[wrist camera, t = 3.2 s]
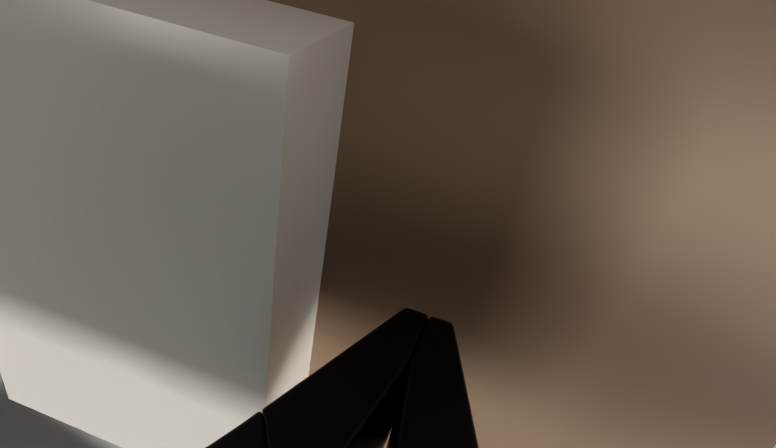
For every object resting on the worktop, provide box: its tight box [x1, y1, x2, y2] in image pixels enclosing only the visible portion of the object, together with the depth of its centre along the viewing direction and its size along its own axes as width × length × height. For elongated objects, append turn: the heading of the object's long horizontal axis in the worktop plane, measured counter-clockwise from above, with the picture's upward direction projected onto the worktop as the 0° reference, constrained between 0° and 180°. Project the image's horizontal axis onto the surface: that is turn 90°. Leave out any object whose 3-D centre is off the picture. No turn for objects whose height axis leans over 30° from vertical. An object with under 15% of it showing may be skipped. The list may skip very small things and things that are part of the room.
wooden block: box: [268, 0, 776, 448], centre depth 12 cm, size 14×19×4 cm
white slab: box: [0, 0, 354, 448], centre depth 10 cm, size 9×6×2 cm, turn 170°
